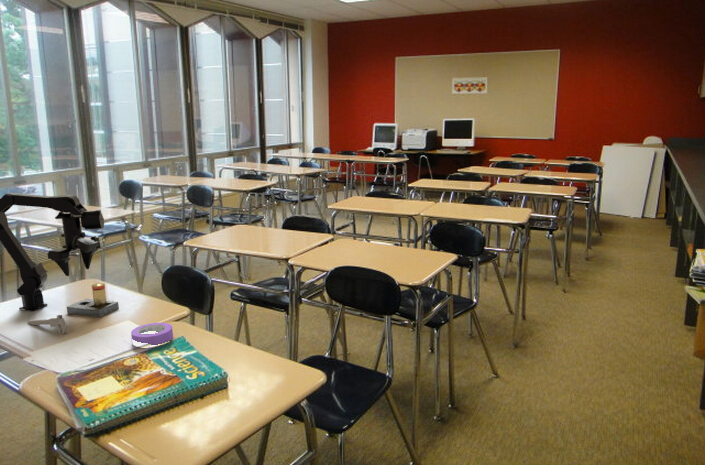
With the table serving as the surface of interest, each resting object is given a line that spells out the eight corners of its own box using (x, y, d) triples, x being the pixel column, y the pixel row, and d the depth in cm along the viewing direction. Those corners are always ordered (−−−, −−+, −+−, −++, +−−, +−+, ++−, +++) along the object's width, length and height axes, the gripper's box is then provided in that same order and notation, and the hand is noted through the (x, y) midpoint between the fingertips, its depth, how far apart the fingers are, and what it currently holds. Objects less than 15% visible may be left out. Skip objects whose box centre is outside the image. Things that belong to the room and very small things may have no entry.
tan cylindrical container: (92, 313, 185) (88, 285, 183) (101, 309, 189) (97, 282, 187) (101, 314, 184) (98, 286, 182) (110, 310, 188) (107, 283, 186)
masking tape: (138, 334, 167) (137, 323, 166) (176, 332, 168) (175, 321, 167) (127, 350, 155) (125, 338, 154) (168, 348, 156) (167, 335, 156)
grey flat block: (67, 313, 186) (66, 306, 185) (87, 304, 194) (86, 298, 193) (100, 317, 181) (99, 310, 181) (118, 308, 190) (118, 301, 189)
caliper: (67, 334, 168) (64, 315, 167) (63, 335, 167) (61, 316, 166) (30, 323, 178) (27, 305, 177) (27, 324, 177) (24, 306, 176)
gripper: (69, 237, 178) (75, 281, 182) (110, 226, 196) (114, 267, 199) (43, 235, 182) (49, 279, 185) (85, 225, 199) (90, 265, 202)
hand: (77, 272), depth 193 cm, fingers open, 9 cm apart
